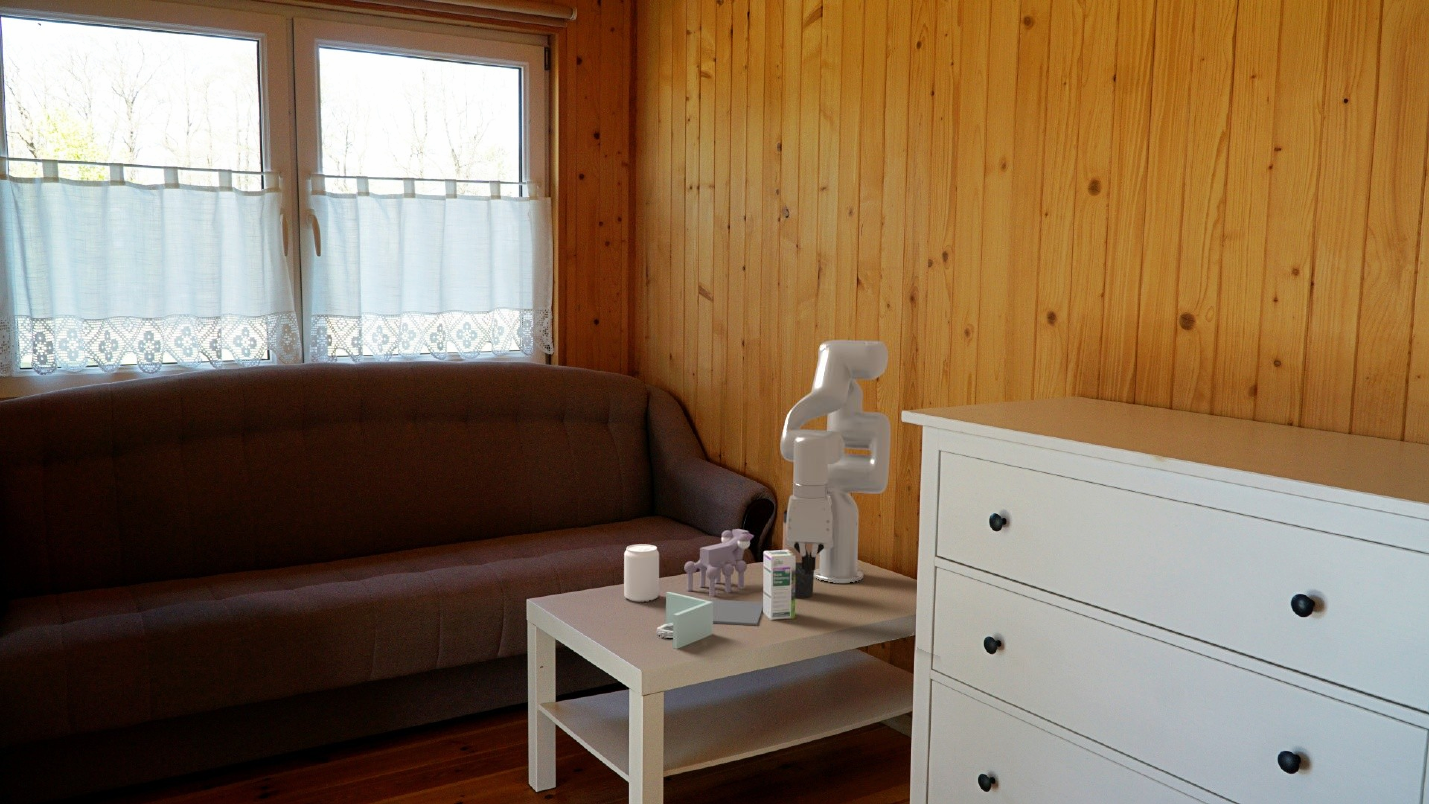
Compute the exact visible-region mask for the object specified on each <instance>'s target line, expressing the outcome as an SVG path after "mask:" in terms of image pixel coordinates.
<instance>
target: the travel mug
mask: <svg viewBox="0 0 1429 804" xmlns="http://www.w3.org/2000/svg"><path fill="white" fill-rule="evenodd" d="M787 510H788V509H785V510H784V511H783V521H782V522H783V523H782V524H783V525H782V528H783V529H782V530H783V531H782V550H789V551H791V552H793V553H794V554H795V556H796V567H795V599H807V598H811V597H812V596H813V595H812V594H814V579H815V577H814V570H812V575H809V574H805V570H803V569H802V556H801V554H800V553H799V552H798V551H797V550H796V549H795V548H792V547H789V546H786V545H785V540H786V522H787ZM812 547H813V543H806V550H807V552H808V554H809V555H810V552H811V551H812ZM808 572H809V567H808Z"/></svg>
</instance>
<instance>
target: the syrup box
mask: <svg viewBox="0 0 1429 804" xmlns="http://www.w3.org/2000/svg"><path fill="white" fill-rule="evenodd" d="M795 567H796V556H795V554H794V553H793V552H791V551H789V550H783V549H781V550H780V549H779V550H764V551H763V569H762V571H763V572H762V573H763V575H762V577H763V587H762V589H763V590H762V591H763V592H762V593H763V594H762V597H763V599H762V602H763V610H762V612H763V614H764V616H765V617H767V618H768V619H769V620H770V621H774V620H785V619H788V620H789V619H795V617H796V598H795Z"/></svg>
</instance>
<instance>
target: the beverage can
mask: <svg viewBox="0 0 1429 804" xmlns="http://www.w3.org/2000/svg"><path fill="white" fill-rule="evenodd" d="M625 549H626V550H625V551H624V553H623V555H624V556H623V559H624V561H623V564H624V565H623V566H624V567H623V569H624V570H623V578H624V579H623V583H624V585H623V587H624V588H623V595H624V598H625V599H628V600H629V601H632V602H638V603H642V602H643V603H644V601H646V602H650V601H649V600H651V601H654V600H656V599H657V598H658V597H659V593H660V591H659V590H660V589H659V588H660V553H659V550H658V547H657V546H656V545H652V544H646V543H645V544H642V543H641V544H640V543H639V544H632V545H628V546H627V547H626V548H625Z"/></svg>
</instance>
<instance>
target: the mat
mask: <svg viewBox="0 0 1429 804" xmlns="http://www.w3.org/2000/svg"><path fill="white" fill-rule="evenodd" d="M701 599H702V600H706V601H711V602H713V624H720V625H721V624H723V625H737V626H738V625H739V626H740V625H742V626H754V627H755V626H758V624H759V620H760V618H761V615H762V612H763V601H745V600H744V601H742V600H729V599H728V600H727V599H726V600H725V599H708V598H707V599H706V598H701Z"/></svg>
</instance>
